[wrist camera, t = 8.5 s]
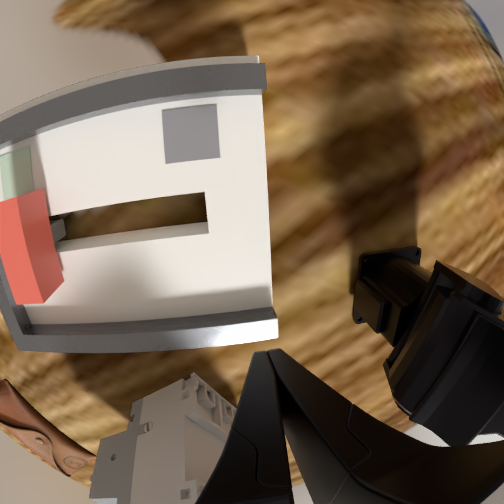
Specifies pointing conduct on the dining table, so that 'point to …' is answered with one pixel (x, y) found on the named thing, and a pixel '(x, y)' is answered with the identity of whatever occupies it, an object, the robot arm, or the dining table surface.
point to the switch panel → (146, 187)
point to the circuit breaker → (164, 447)
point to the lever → (30, 247)
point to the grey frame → (143, 331)
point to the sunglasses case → (40, 433)
